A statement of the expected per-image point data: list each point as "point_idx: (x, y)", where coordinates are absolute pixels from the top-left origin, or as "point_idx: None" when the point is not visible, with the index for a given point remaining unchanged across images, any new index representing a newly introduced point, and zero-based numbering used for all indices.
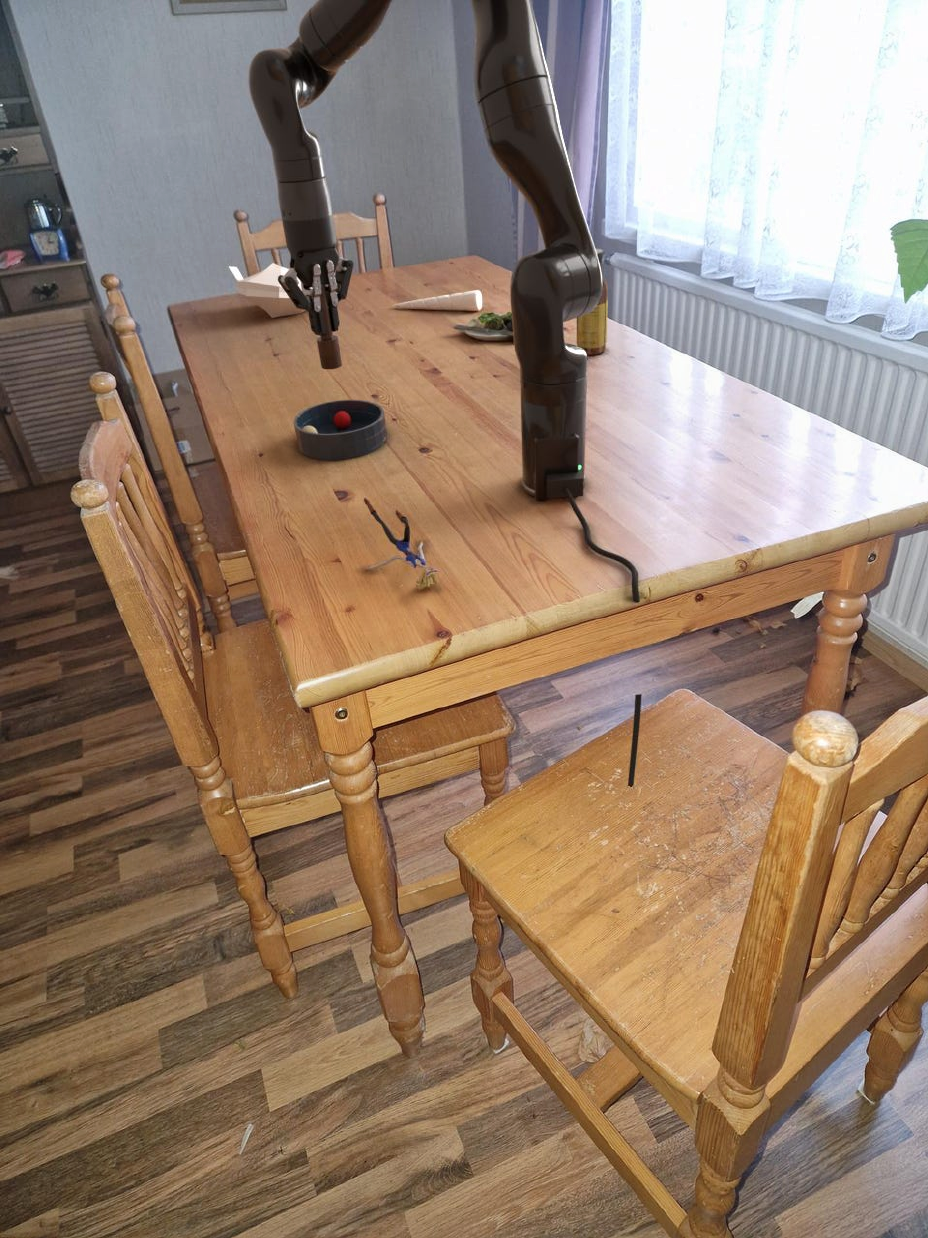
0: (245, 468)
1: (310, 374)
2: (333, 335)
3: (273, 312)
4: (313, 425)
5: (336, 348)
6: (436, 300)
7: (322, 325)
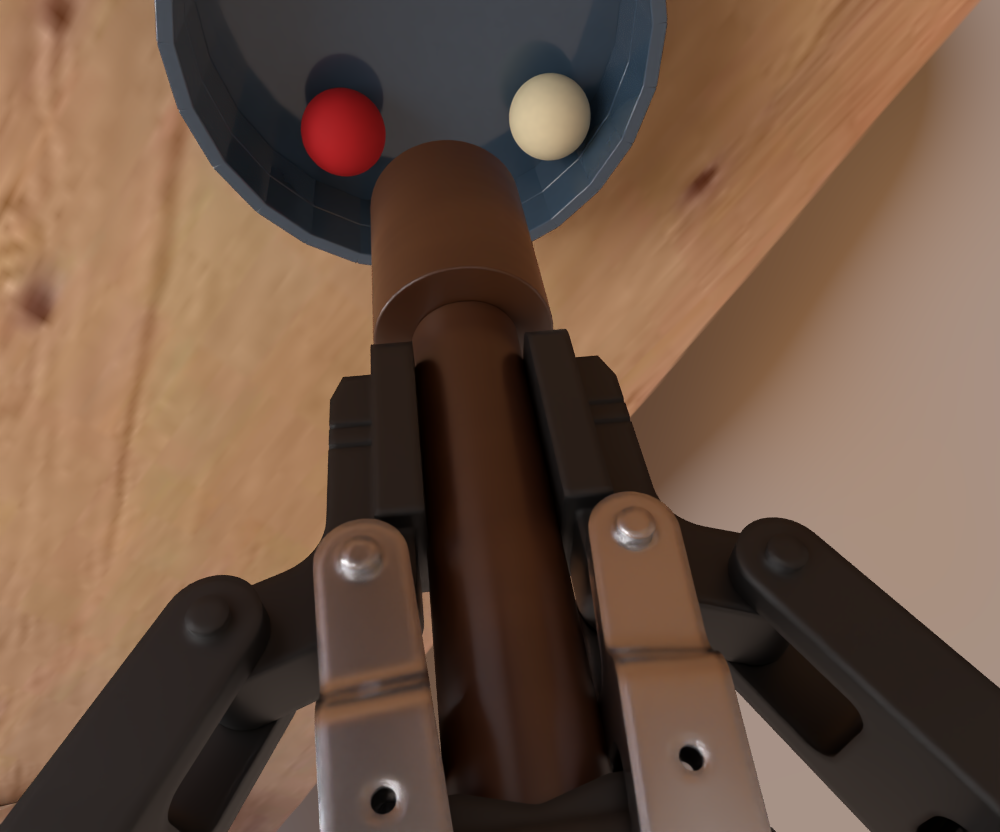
0: (820, 127)
1: (172, 562)
2: None
3: None
4: None
5: (440, 221)
6: None
7: (564, 385)
